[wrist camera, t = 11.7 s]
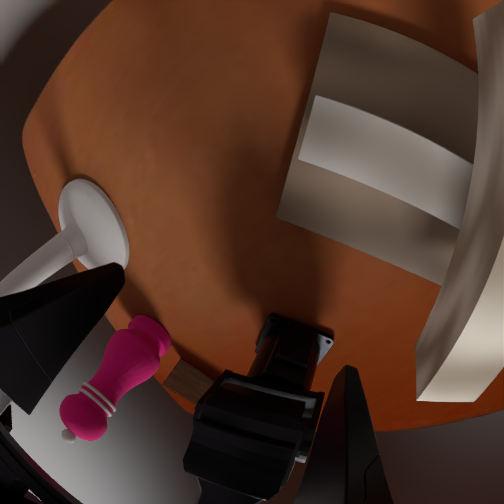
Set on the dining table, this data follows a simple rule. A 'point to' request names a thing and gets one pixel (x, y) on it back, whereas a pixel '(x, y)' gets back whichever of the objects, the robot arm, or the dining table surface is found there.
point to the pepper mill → (114, 378)
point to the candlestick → (75, 238)
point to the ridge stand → (385, 148)
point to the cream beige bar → (473, 252)
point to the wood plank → (188, 381)
